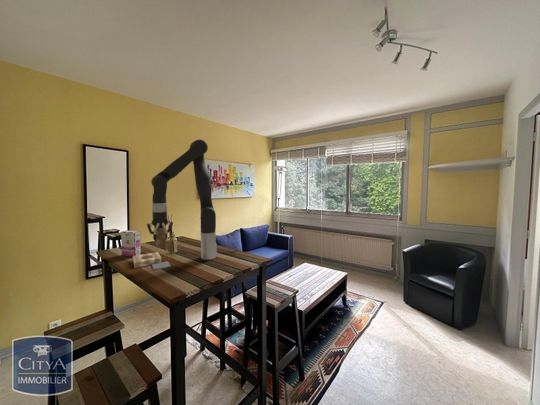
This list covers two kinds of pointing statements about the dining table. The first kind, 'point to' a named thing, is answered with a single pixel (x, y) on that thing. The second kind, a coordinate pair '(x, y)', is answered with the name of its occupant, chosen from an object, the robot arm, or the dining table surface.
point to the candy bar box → (130, 243)
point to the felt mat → (161, 265)
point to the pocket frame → (146, 259)
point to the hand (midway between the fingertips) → (160, 239)
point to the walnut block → (160, 237)
